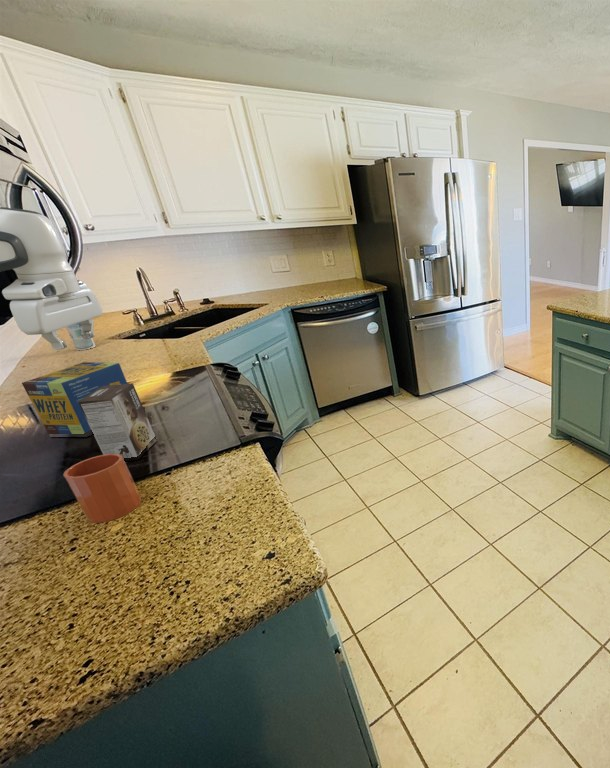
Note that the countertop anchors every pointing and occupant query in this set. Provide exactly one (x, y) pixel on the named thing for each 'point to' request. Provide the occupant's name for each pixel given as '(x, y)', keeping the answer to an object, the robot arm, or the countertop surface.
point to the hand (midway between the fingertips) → (75, 343)
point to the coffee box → (117, 420)
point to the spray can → (79, 337)
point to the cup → (103, 487)
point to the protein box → (70, 394)
